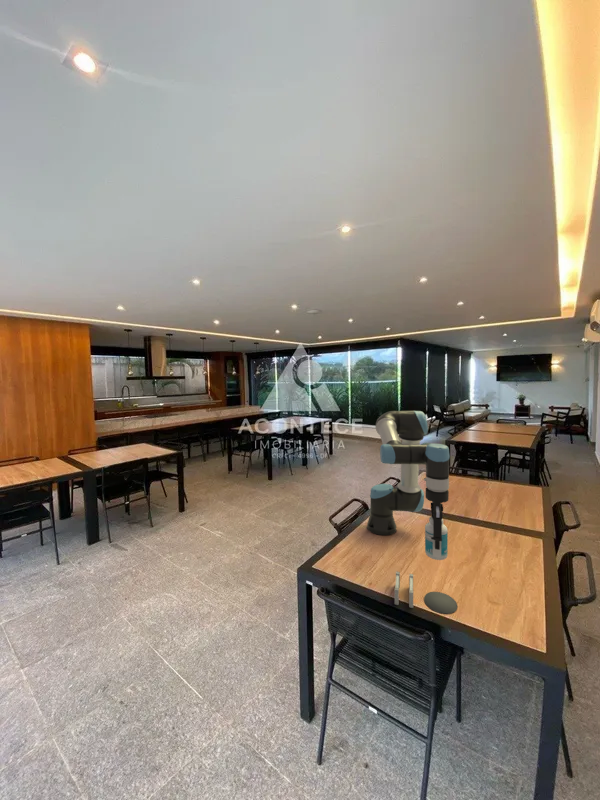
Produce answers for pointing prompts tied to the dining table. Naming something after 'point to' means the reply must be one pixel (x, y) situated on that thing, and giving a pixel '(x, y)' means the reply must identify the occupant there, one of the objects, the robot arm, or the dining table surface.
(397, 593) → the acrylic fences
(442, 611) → the coaster
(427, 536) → the pill bottle
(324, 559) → the dining table surface
